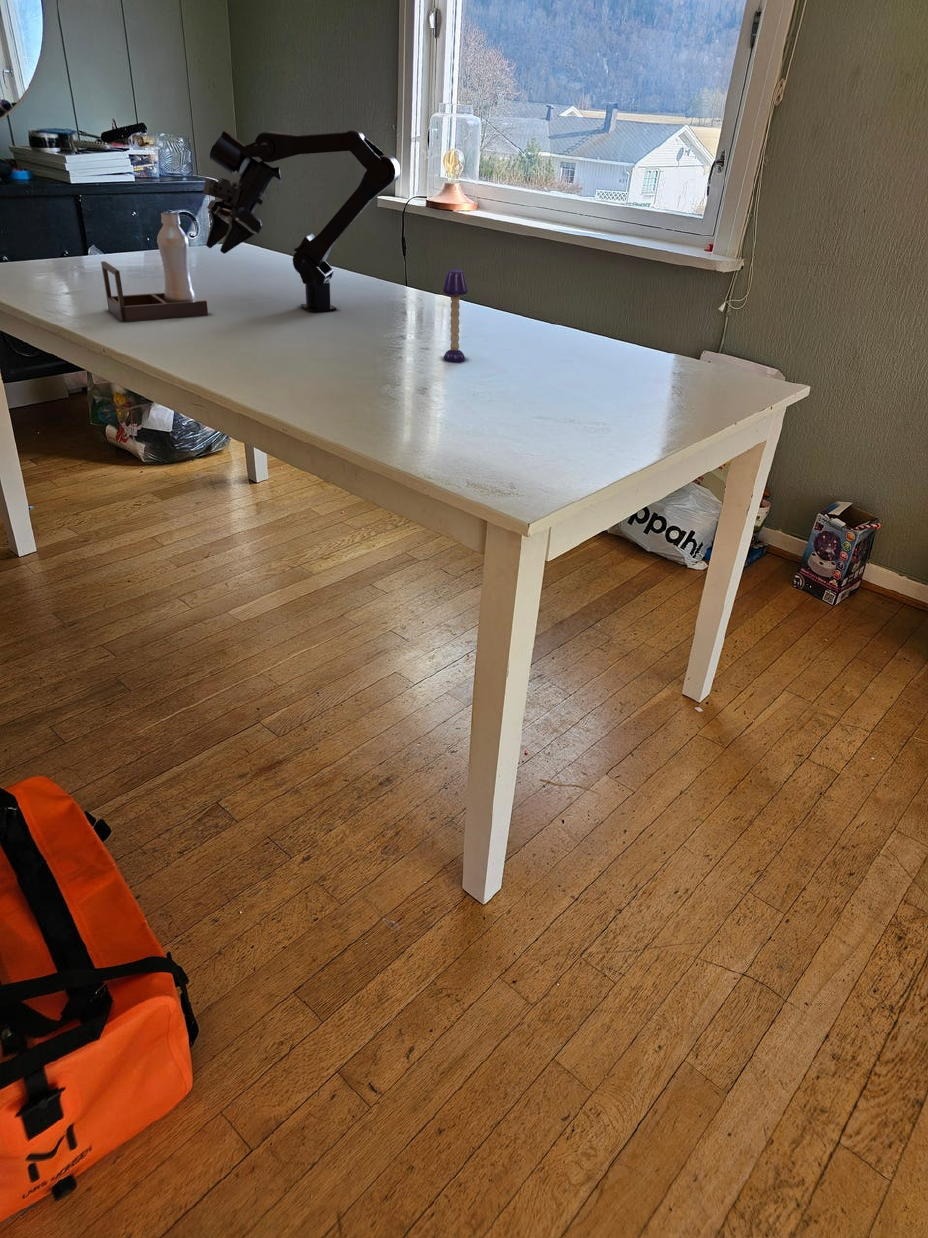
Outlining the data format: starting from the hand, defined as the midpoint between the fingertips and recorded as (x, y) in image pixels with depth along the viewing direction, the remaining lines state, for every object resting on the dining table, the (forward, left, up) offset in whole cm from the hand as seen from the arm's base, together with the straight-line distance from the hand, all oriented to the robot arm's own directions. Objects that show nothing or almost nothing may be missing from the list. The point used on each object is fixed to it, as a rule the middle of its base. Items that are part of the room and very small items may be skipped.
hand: (214, 249), depth 189 cm
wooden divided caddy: (0, +14, -13) cm, 19 cm away
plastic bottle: (0, +9, -13) cm, 16 cm away
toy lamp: (-57, -27, -13) cm, 64 cm away
